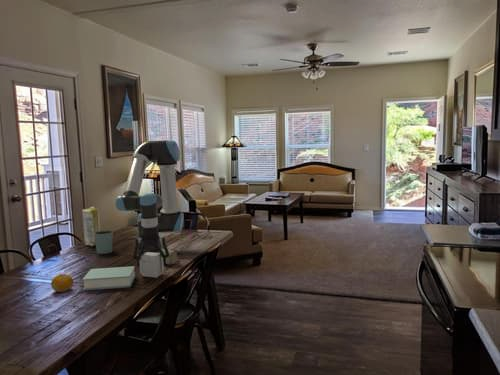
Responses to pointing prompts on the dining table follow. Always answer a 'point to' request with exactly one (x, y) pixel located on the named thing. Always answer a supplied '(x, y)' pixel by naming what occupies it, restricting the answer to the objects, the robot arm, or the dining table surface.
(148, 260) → the small box
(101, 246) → the teal cup
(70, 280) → the fruit
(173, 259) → the ceramic mug
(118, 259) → the dining table surface
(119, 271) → the book
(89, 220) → the juice carton
